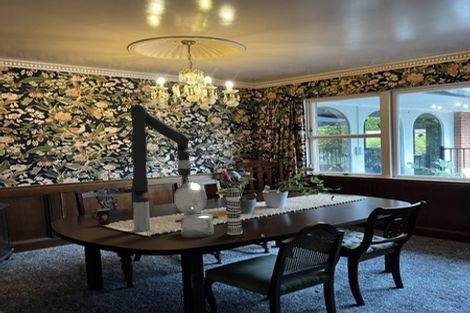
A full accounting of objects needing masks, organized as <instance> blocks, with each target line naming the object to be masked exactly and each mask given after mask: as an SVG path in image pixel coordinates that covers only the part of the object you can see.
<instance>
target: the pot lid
mask: <svg viewBox="0 0 470 313" xmlns="http://www.w3.org/2000/svg"><path fill="white" fill-rule="evenodd" d="M173 196H174V197H173V200H174V203H175V206H176V208H177V209H178V210H179V211H180V212H182V213H184V214H183V216H184V215H189V214H202V212H201V211H202V210H203V209H204V208H205V207H206V205H207V199H208V198H207V194H206V191H205V190H204V188H203V187H202V186H201V185H199V184H198V183H195V182H190V181H189V183H184V184H182V183H181V185H179V186H178V187H177V189H176V191H175V192H174V195H173Z"/></svg>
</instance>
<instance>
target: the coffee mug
mask: <svg viewBox="0 0 470 313" xmlns="http://www.w3.org/2000/svg"><path fill="white" fill-rule="evenodd" d="M111 211H112V209H111V208H100V209H97V212H96V211H94V212H93V213H91V217H92V218H93V219H94V220H96V221H97V222H99V226H101V225H104V226H109V224H110V225H111V213H112V212H111ZM94 214H96V215H97V216H98V219H97V218H95V217H94V216H93V215H94Z"/></svg>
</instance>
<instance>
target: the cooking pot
mask: <svg viewBox="0 0 470 313" xmlns="http://www.w3.org/2000/svg"><path fill="white" fill-rule="evenodd" d="M214 219H219V216H218V215H213V214H210V213H201V214H189V215H184V214H183V215H181V216H180V219H174V221H175V223H178V224H179V223H180V230H181V231H180V232H181V237H184V238H193V239H194V238H195V239H196V238H204V237H205V238H206V237H210V236H212V235H214V231H215V230H214Z"/></svg>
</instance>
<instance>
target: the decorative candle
mask: <svg viewBox="0 0 470 313" xmlns="http://www.w3.org/2000/svg"><path fill="white" fill-rule="evenodd" d="M240 192H241V191H240V189H239V188H238V187H230V188H227V189H226V190H225V199H224V202H225V203H224V204H225V211H226V212H225V213H226V231H227V232H226V234H227V235H230V236H233V235H234V236H235V235H236V236H238V235H241V234H243V226H242V225H243V223H242V217H241V216H242V215H241V213H242V208H241V207H242V201H241V200H242V198H241V194H240Z"/></svg>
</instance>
